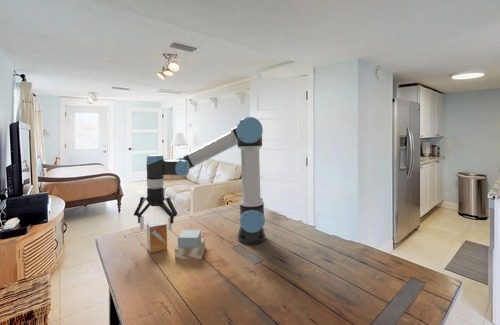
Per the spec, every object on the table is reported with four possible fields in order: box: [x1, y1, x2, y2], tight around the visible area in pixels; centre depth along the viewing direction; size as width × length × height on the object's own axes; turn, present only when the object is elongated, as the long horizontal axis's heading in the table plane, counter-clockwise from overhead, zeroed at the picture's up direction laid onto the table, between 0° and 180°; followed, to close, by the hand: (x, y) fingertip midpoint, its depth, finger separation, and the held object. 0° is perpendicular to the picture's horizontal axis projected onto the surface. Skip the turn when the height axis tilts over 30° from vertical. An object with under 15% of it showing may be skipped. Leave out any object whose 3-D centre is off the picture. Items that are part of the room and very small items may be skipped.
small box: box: [146, 220, 168, 254], centre depth 126 cm, size 8×6×13 cm
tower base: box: [174, 238, 206, 260], centre depth 123 cm, size 12×12×5 cm
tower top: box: [177, 229, 202, 248], centre depth 122 cm, size 9×9×5 cm
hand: (156, 229), depth 125 cm, fingers open, 13 cm apart
